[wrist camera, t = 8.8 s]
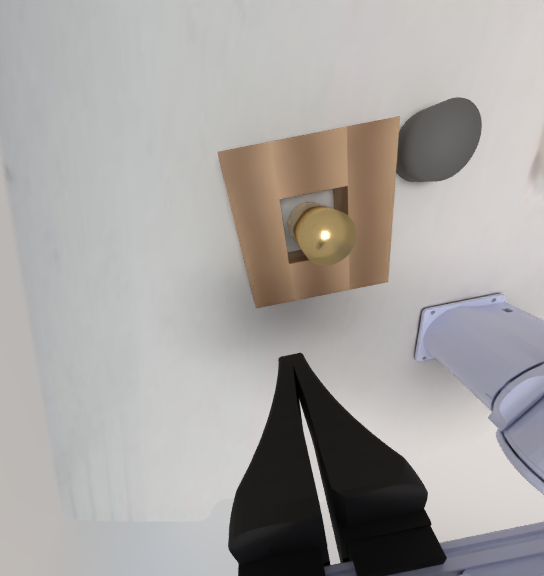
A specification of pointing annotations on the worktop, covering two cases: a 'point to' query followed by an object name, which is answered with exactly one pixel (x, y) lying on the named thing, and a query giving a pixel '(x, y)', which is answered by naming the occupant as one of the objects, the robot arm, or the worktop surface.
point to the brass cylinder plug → (322, 233)
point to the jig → (308, 179)
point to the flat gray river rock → (438, 141)
